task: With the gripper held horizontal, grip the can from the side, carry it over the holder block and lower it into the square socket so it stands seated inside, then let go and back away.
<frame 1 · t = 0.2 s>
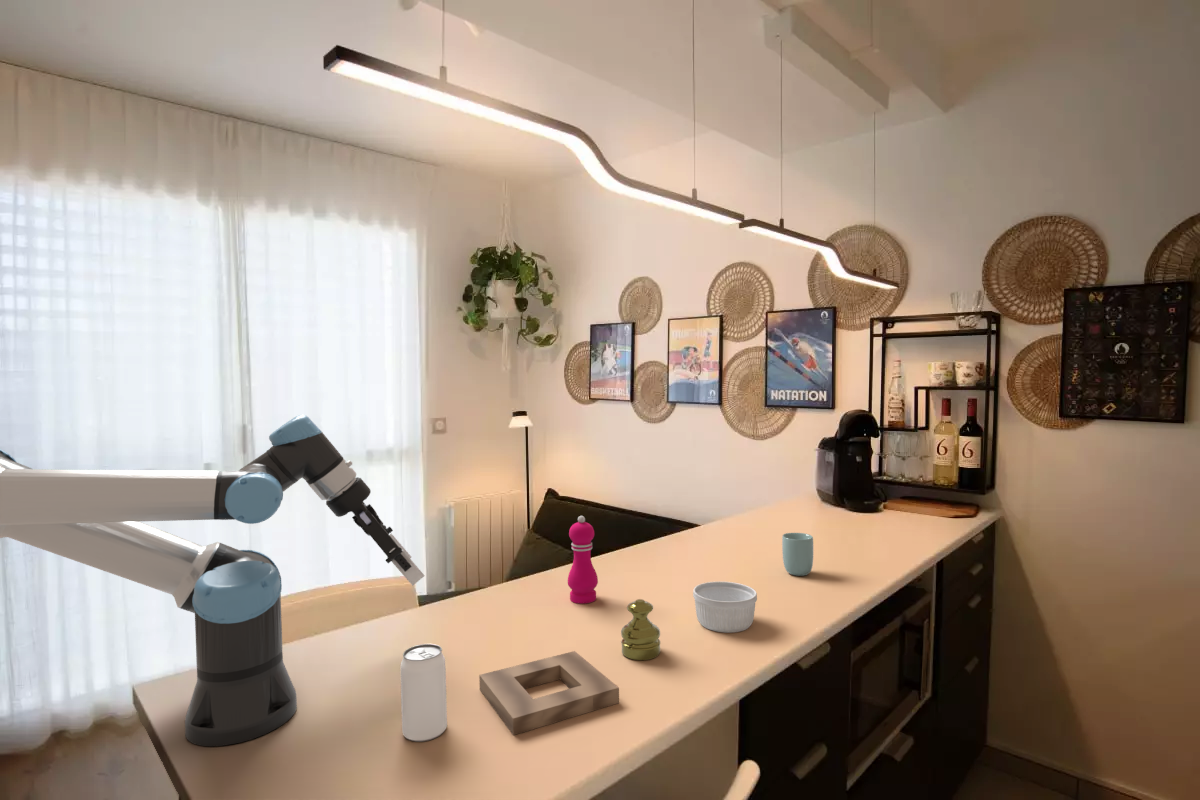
hand: (412, 570, 123), 15 cm above the table, tool tilted 35°, fingers open, 13 cm apart
can: (425, 732, 93), on the table
cup: (798, 574, 165), on the table
holder: (547, 695, 103), on the table
pepper mill: (583, 600, 149), on the table
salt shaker: (641, 653, 119), on the table
ramekin: (725, 624, 132), on the table
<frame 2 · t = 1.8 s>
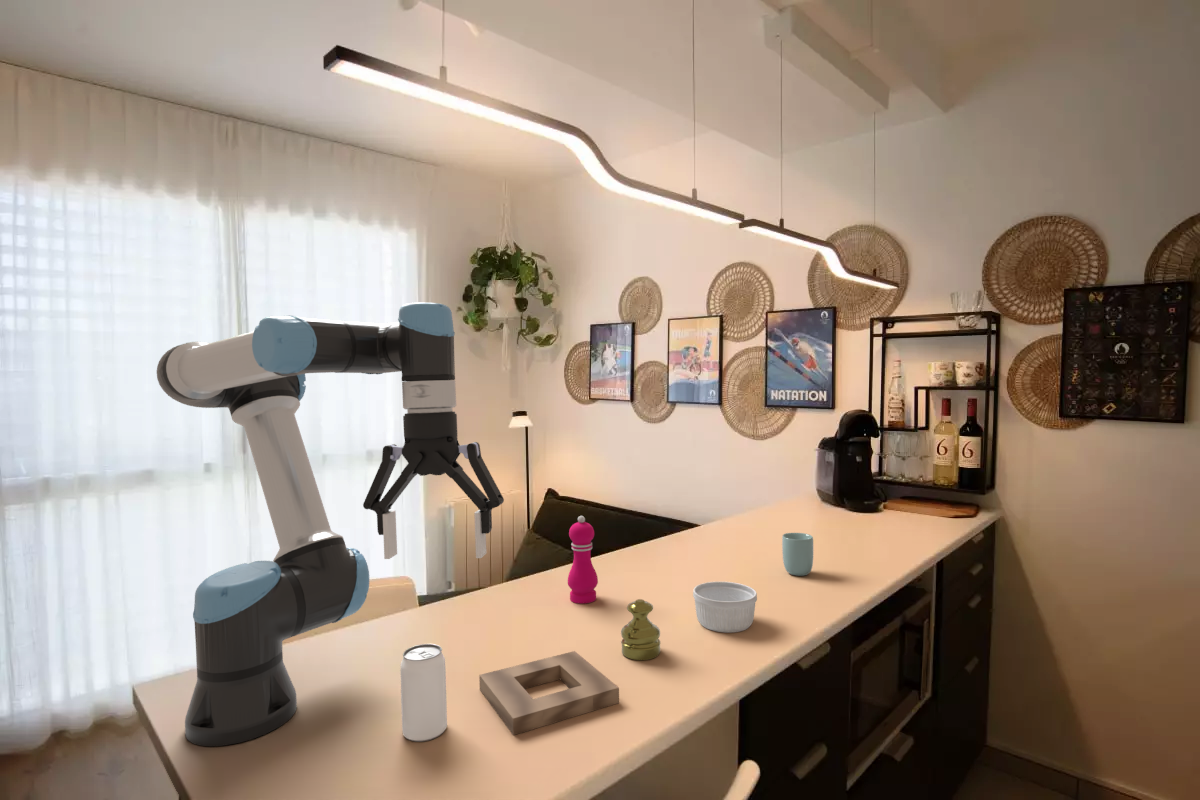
hand: (435, 556, 91), 27 cm above the table, tool pointing down, fingers open, 13 cm apart
nothing on the table moved.
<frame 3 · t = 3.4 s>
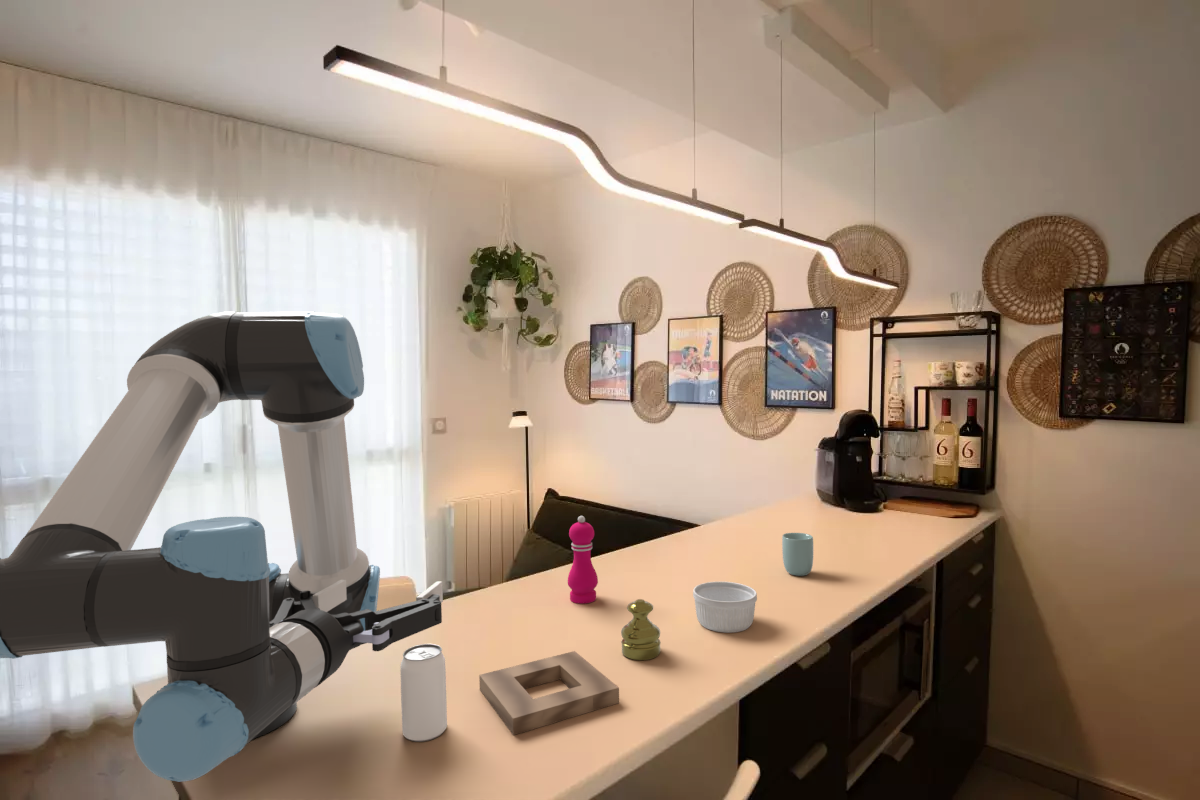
hand: (391, 590, 84), 24 cm above the table, tool horizontal, fingers open, 13 cm apart
nothing on the table moved.
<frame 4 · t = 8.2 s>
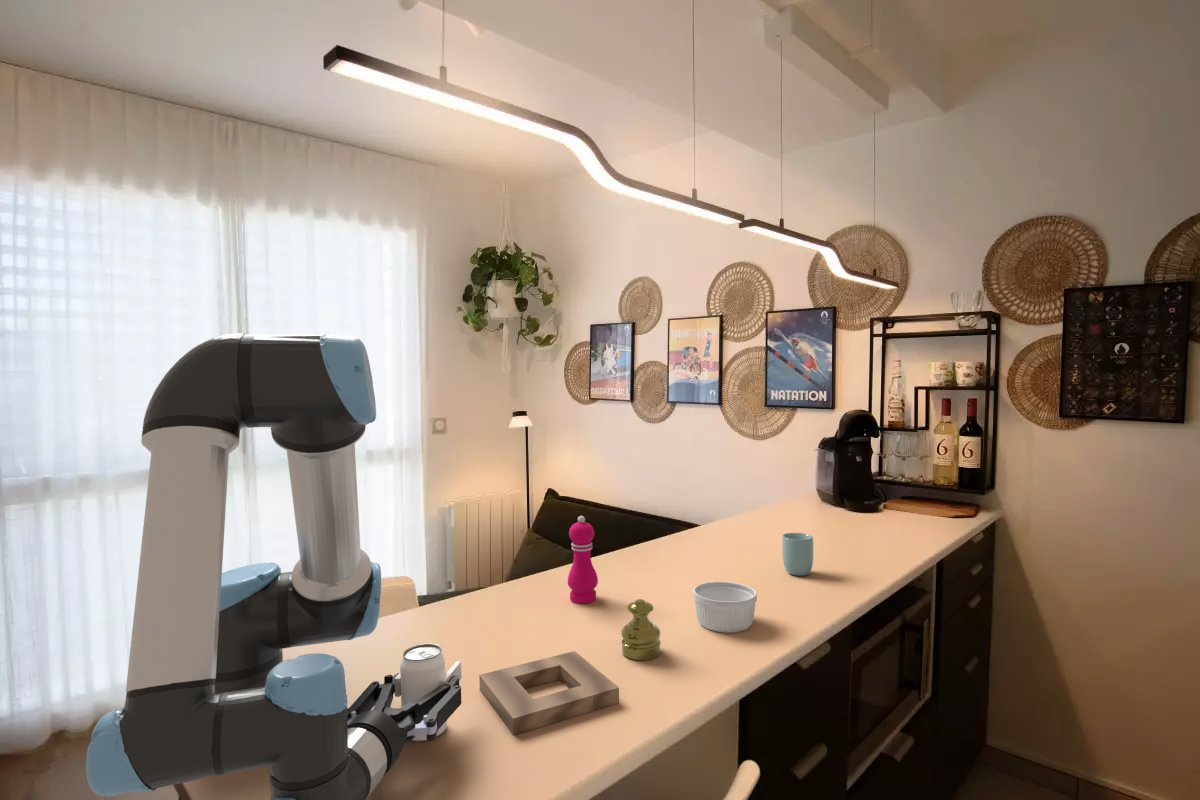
hand: (437, 668, 98), 7 cm above the table, tool horizontal, fingers closed on can, 6 cm apart
can: (424, 731, 93), on the table, touching gripper
everything else where it was.
when the fingers open (8 cm above the table, at t = 13.3 s): can drops 1 cm, resting in holder.
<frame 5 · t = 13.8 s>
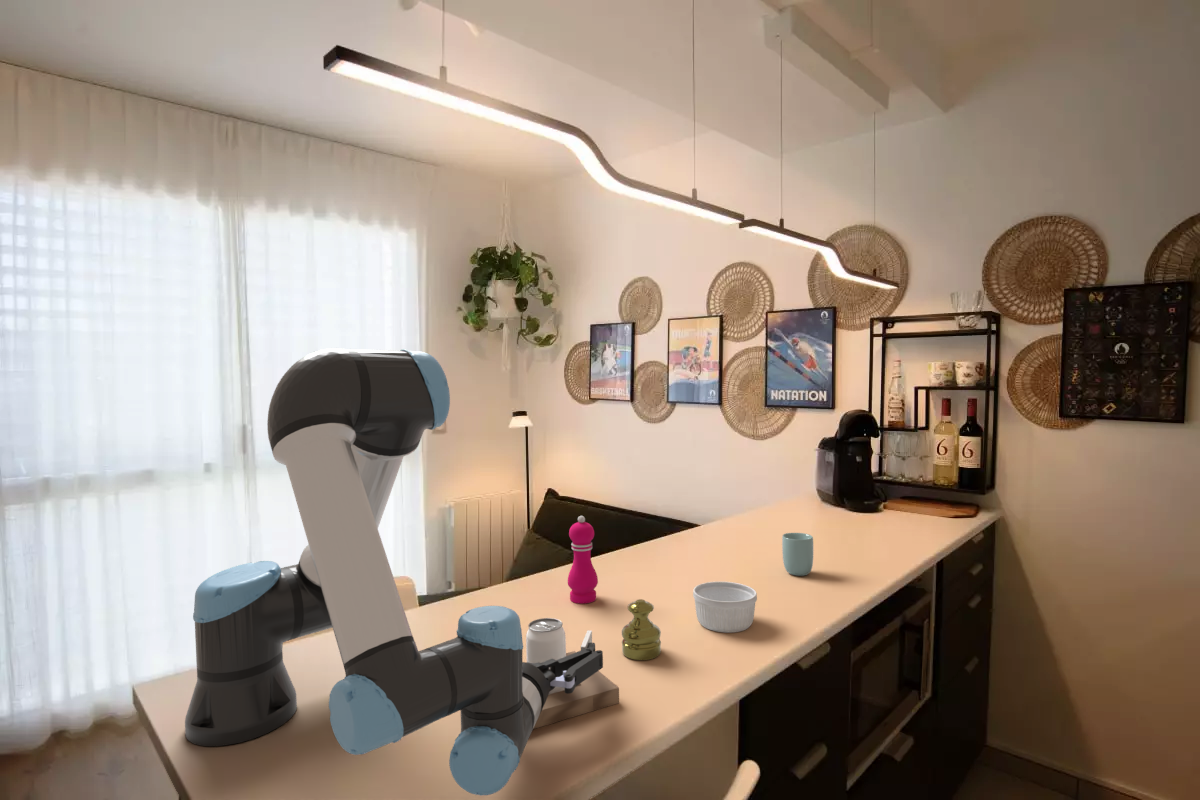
hand: (550, 636, 106), 8 cm above the table, tool horizontal, fingers open, 13 cm apart
can: (547, 697, 103), resting in holder
everything else where it was.
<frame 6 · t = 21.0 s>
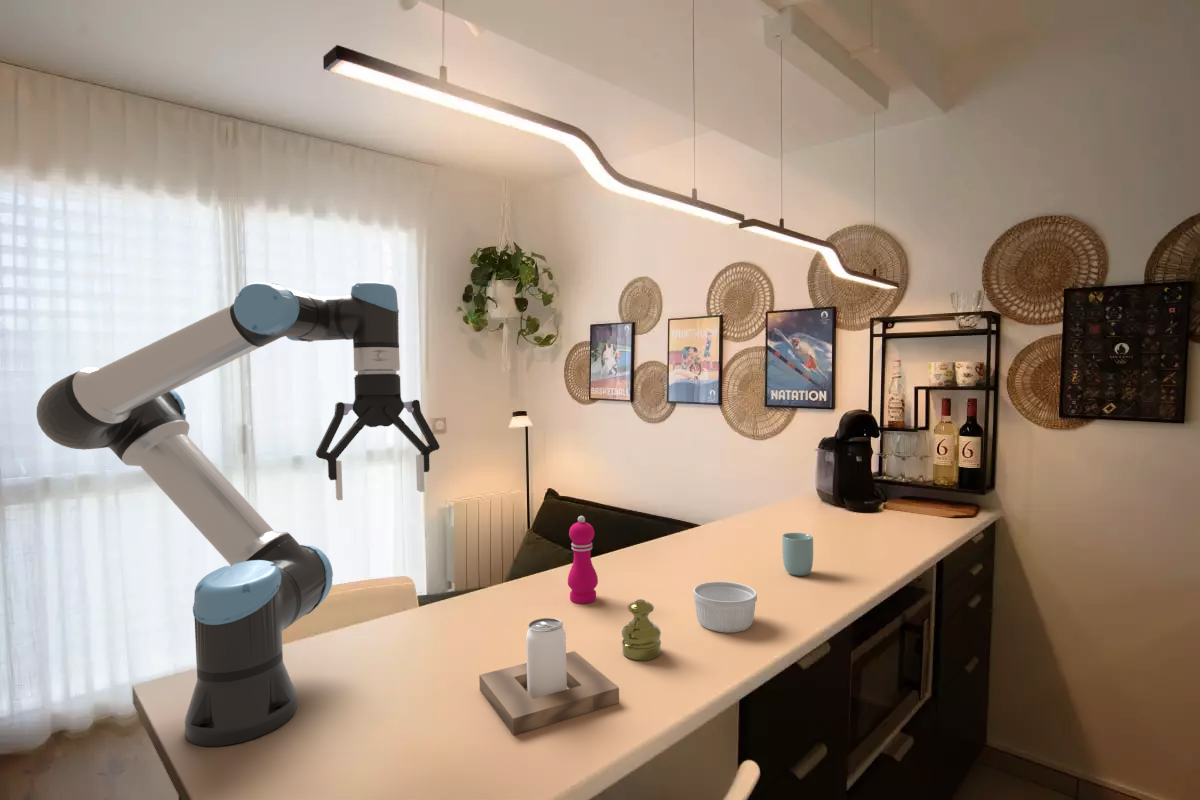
hand: (381, 494, 109), 33 cm above the table, tool pointing down, fingers open, 13 cm apart
nothing on the table moved.
at the end: can 0.1 cm off-centre on the holder, point 0.0 cm above the holder's base; can tilted 0°; the gripper is holding nothing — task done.
